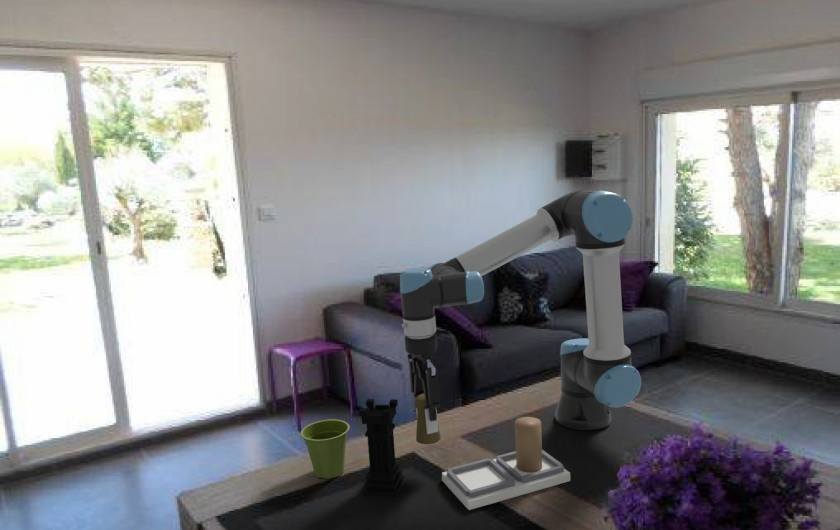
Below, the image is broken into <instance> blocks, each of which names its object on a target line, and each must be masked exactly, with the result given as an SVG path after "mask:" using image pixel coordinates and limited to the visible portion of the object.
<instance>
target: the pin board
mask: <svg viewBox="0 0 840 530" xmlns="http://www.w3.org/2000/svg"><path fill="white" fill-rule="evenodd" d="M514 432H515V434H514V435H515V450H514V451H511V452H506V453H504V454H499V455H496V456H495V458H493V459H491V458H490V457H488V458H483V459H479V460H476V461H473V462H472V461H471V462H469V463H464V464H461V465H457V466H456V465H455V466H453V467H449V468H447V469H446V471H442V472H441V482H443V483H444V484H445V485H446V487H447V488H448V489H449V490H450V491H451V492H452V494H453V495H455V497H456V498H457V499H458V500H459V501H460V502H461V503H462V504H463V505H464V507H465V508H466V509H467V510H468V511H471V510H474V509H478V508H481V507H484V506H487V505H492V504H496V503H498V502H502V501H505V500H506V501H507V500H509V499H512V498H516V497H520V496H523V495H526V494H530V493H534V492H536V491H540V490H544V489H547V488H551V487H554V486H557V485H560V484H564V483H567V482H571V472H570V471H568V470H567V469H566V468H565V466H564V464H563V463H562V462H561V461H559V460H558V459H556V458H554V457H553V456H552V455H550V454H549V453H548V452H547V451H545V450H544V449H543V446H542V445H543V443H542V442H543V441H542V439H543V438H542V421H541V420H540V419H539V418H537V417H534V416H533V417H532V416H523V417H519V418H517V419H515V421H514Z"/></svg>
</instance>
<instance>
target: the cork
mask: <svg viewBox="0 0 840 530" xmlns="http://www.w3.org/2000/svg"><path fill="white" fill-rule="evenodd" d="M414 405H415V409H416V408H417V409H418V413H416V433H415V434H416V436H415V437H416V438H415V441H416V442H417V443H419V444H420V445H432V444H436V443H438V442H439V441H441V439H442V437H441V432H440V427H439V425H438V432H435V433H431V434H427V431H426V418H425V409H424V408H423V406H426V402H425V396H424V394H420V395H418V396H417V397H416V398H415V399H414Z"/></svg>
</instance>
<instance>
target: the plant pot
mask: <svg viewBox="0 0 840 530" xmlns="http://www.w3.org/2000/svg"><path fill="white" fill-rule="evenodd" d="M350 428H351V427H350V424H349V423H348V422H347V421H344V420H341V419H324V420H319V421H315V422H312V423H309V424H308V425H306V426H305V427H303V428H302V429H301V431H300V436H301V437H302V438H303V440H304V443H305V445H306V447H307V451H308V454H309V458H310V460H311V465H312V468H313V472H314V475H315V477H316V478H322V479H326V480H327V479H332V478H336V477H339V476H340V475H341V474H342V473H344V471H345V464H346V463H345V460H346V448H347V447H346V446H347V439H348V438H347V437H348V432H349V430H350Z"/></svg>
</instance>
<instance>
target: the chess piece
mask: <svg viewBox="0 0 840 530" xmlns="http://www.w3.org/2000/svg"><path fill="white" fill-rule="evenodd" d="M388 403H389V404H376V403H375V398H367V399H366V401H365V407H366V408H365V407H364V408H363V407H362V408H360V409H358V417H360V418H361V425H366V431H365V433H364V436H365V438H367V448H368V460H369V463H368V464H369V471H368V473H366V474H367V475H365V476H366V477H365V482H364V487H363V490H362V496H363V495H365V496H381V497H382V496H383V497H398V495H399V493H400V490H401V488H402V487H403V484H404V482H405V479H406V477H405V475H403V469H400V468H401V464H398V463H396V451H395V440H394V439H395V438H394V437H395V436H394V429H395V428H396V424H395V423H393V422H394V421H393V420H394V418H395V416H396V415H397V406H398V405H399V401H398V399H390V400H389V402H388ZM403 481H404V482H403Z"/></svg>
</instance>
